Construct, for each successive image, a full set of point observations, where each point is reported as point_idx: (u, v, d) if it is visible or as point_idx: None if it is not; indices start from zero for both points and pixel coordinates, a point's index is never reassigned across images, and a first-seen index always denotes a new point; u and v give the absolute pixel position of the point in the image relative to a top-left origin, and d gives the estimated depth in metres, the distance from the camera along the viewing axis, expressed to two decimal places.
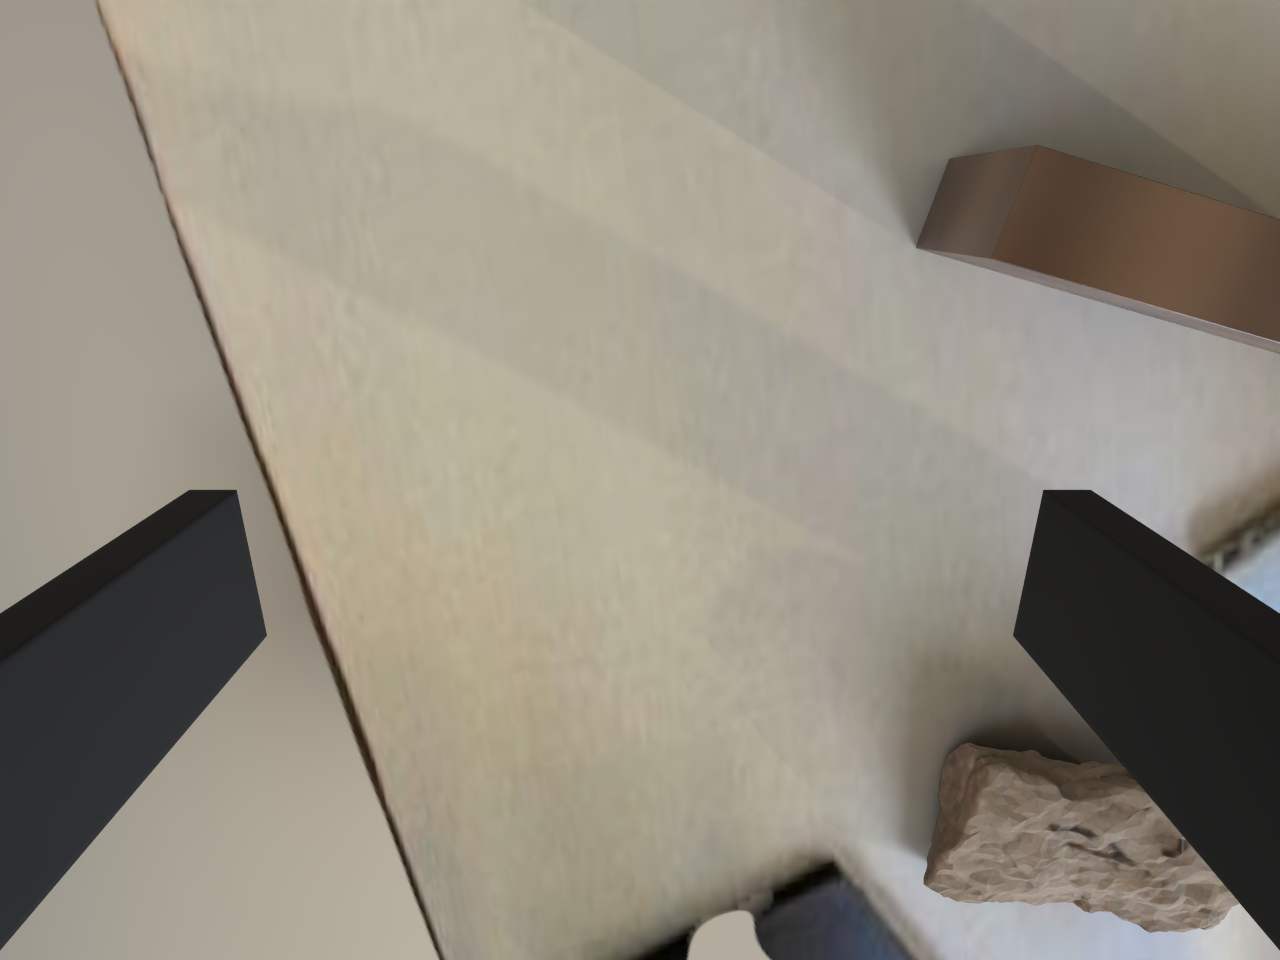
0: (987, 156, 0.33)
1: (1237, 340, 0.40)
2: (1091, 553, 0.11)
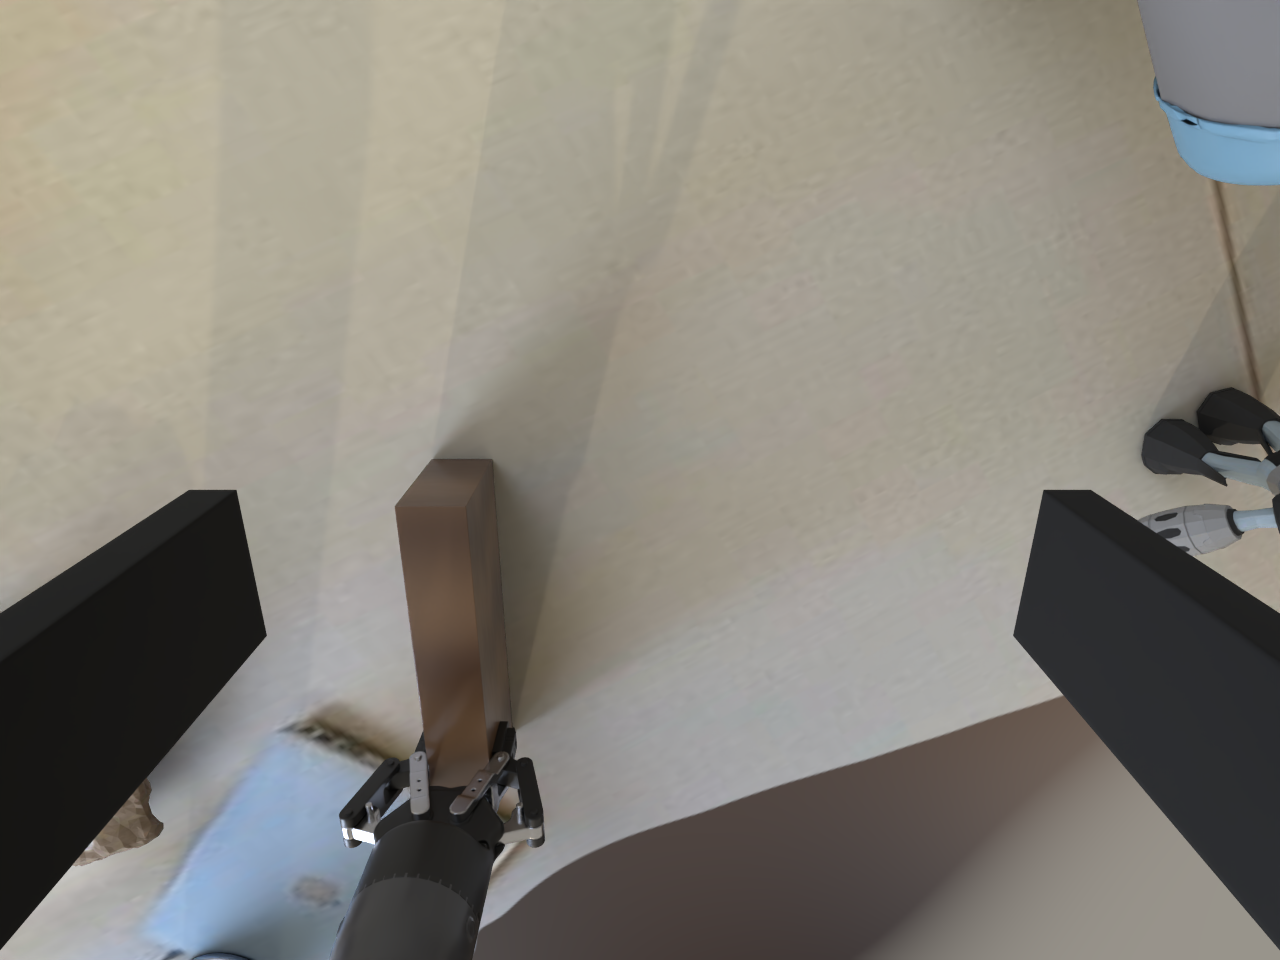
0: (477, 481, 0.51)
1: None
2: (1091, 553, 0.11)
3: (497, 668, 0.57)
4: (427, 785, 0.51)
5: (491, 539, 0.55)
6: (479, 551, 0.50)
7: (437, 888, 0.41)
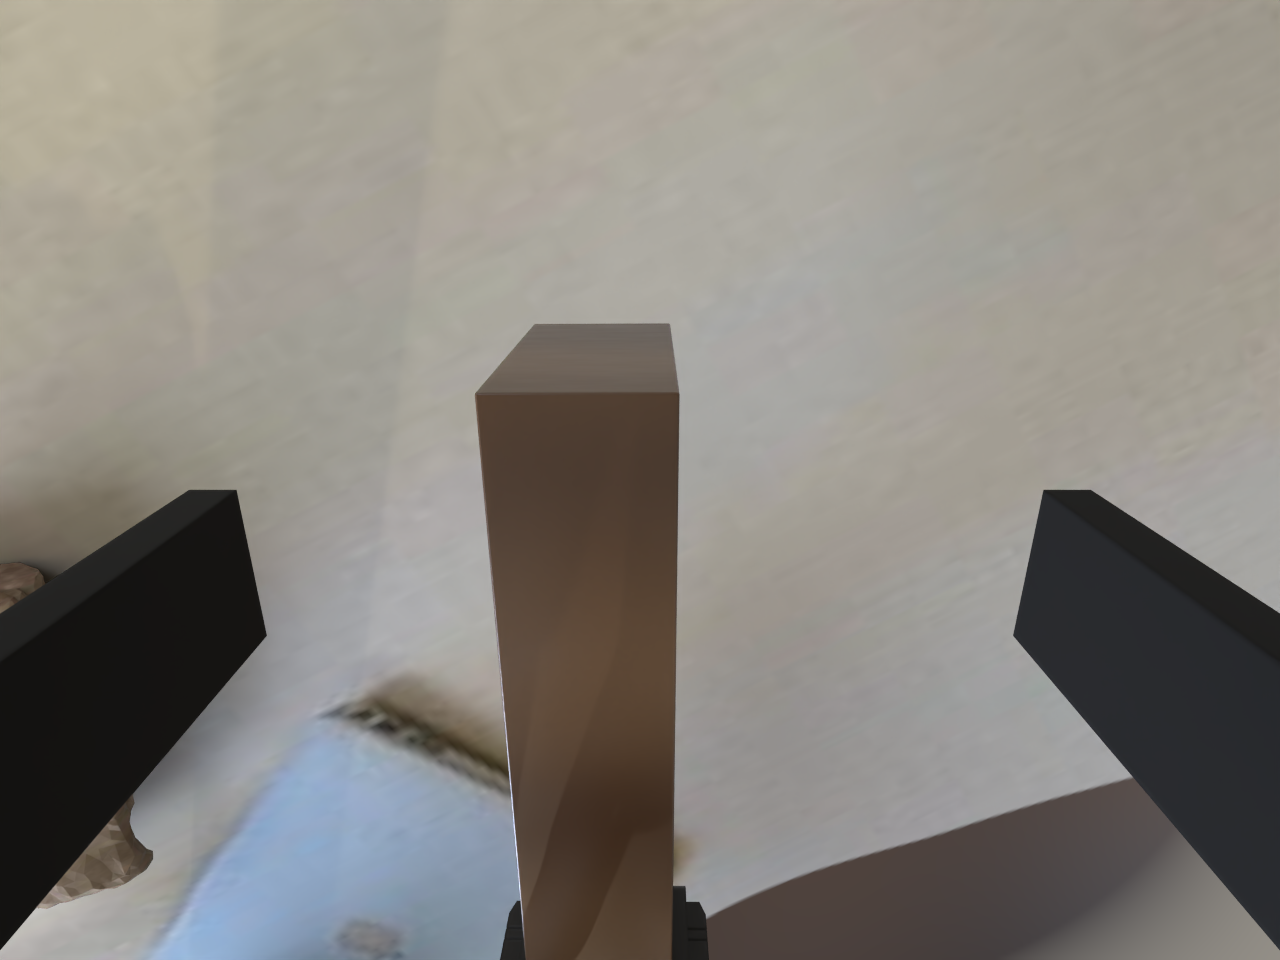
0: (667, 351, 0.20)
1: None
2: (1092, 553, 0.11)
3: None
4: None
5: None
6: None
7: None
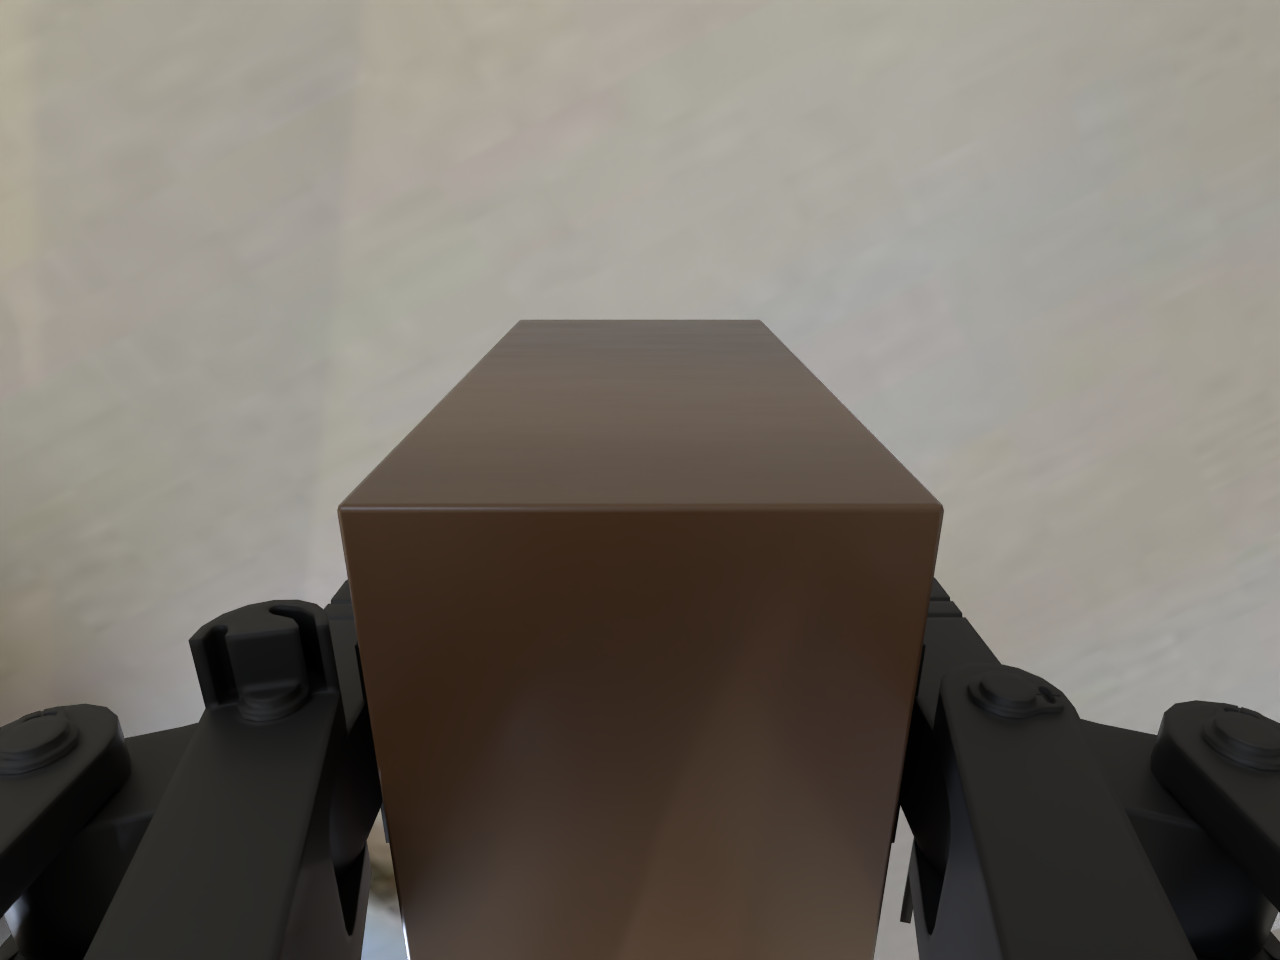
0: (801, 374, 0.09)
1: None
2: None
3: None
4: None
5: None
6: None
7: None
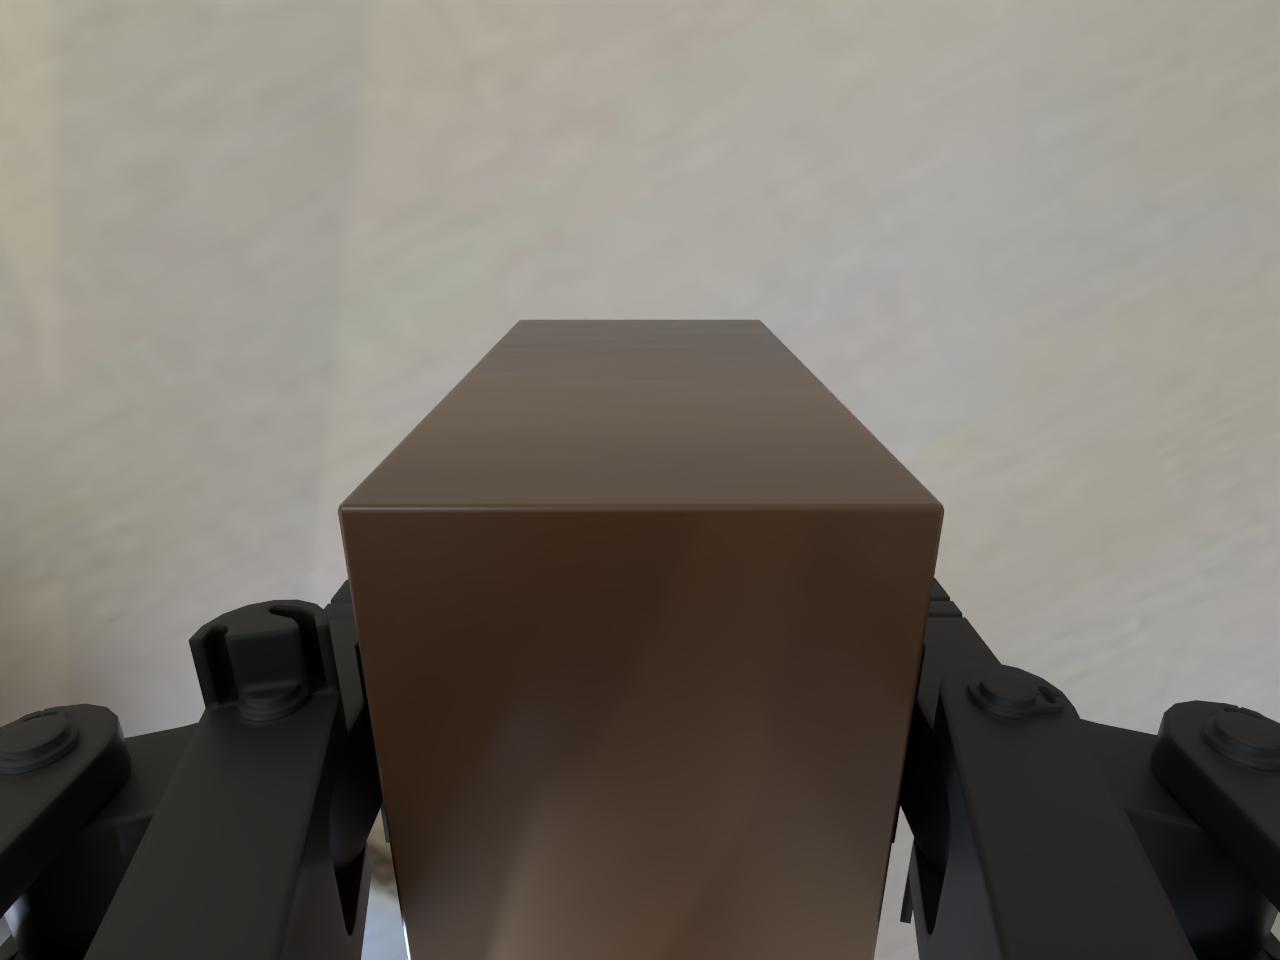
0: (802, 374, 0.09)
1: None
2: None
3: None
4: None
5: None
6: None
7: None
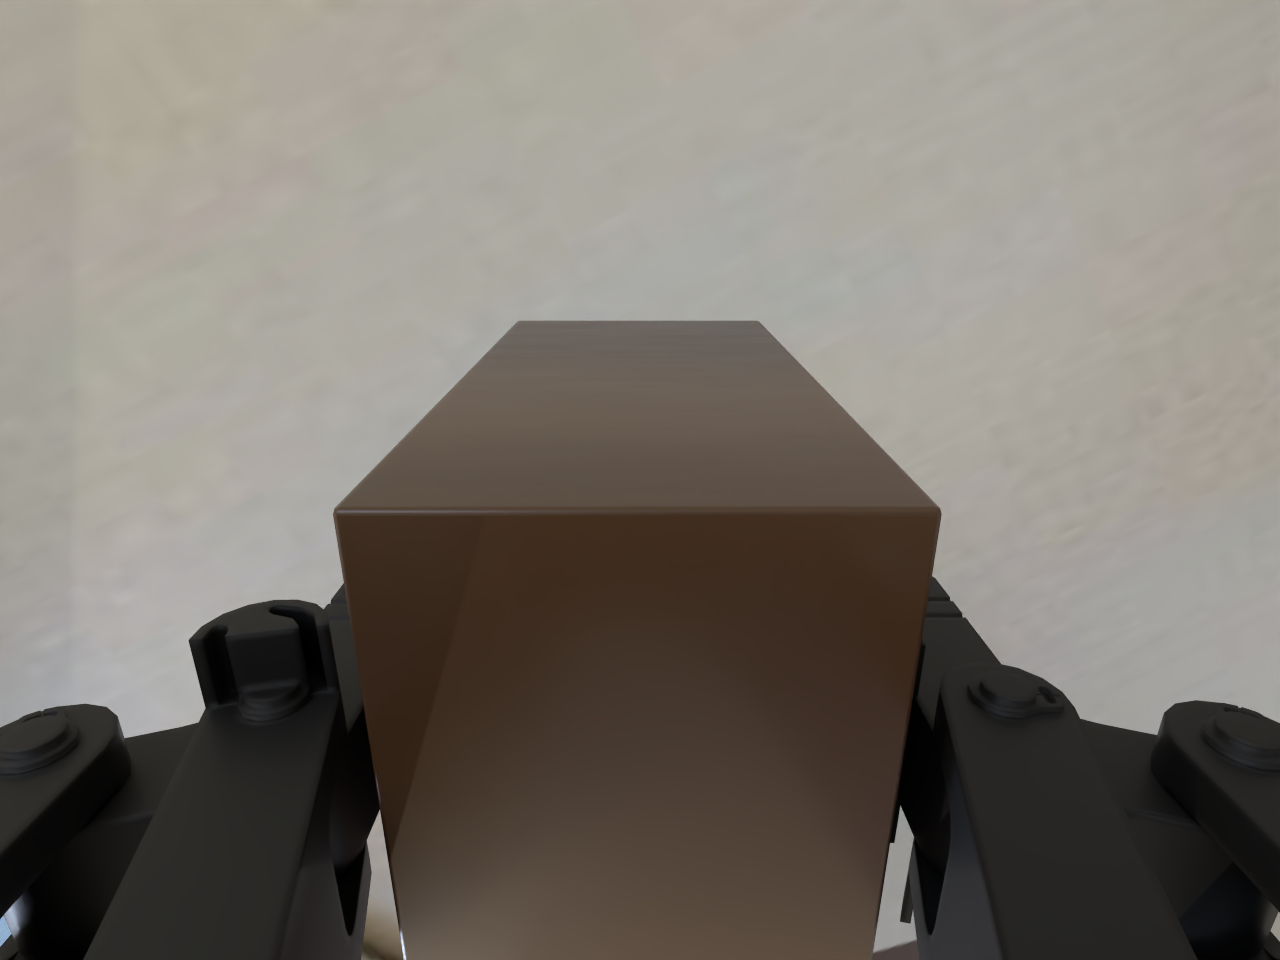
0: (800, 376, 0.09)
1: None
2: None
3: None
4: None
5: None
6: None
7: None
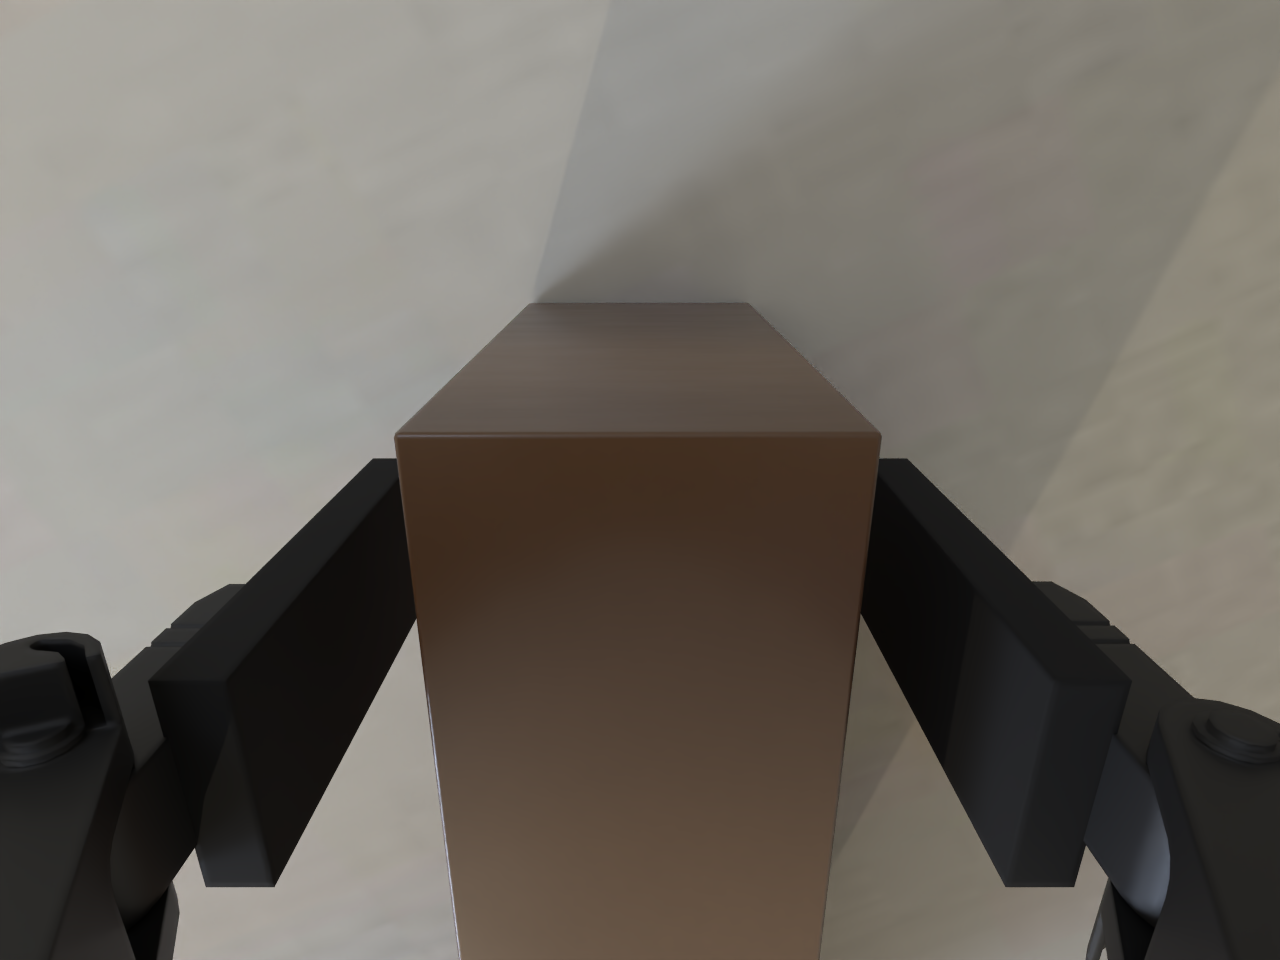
0: (780, 344, 0.11)
1: None
2: (888, 510, 0.12)
3: None
4: None
5: None
6: None
7: None
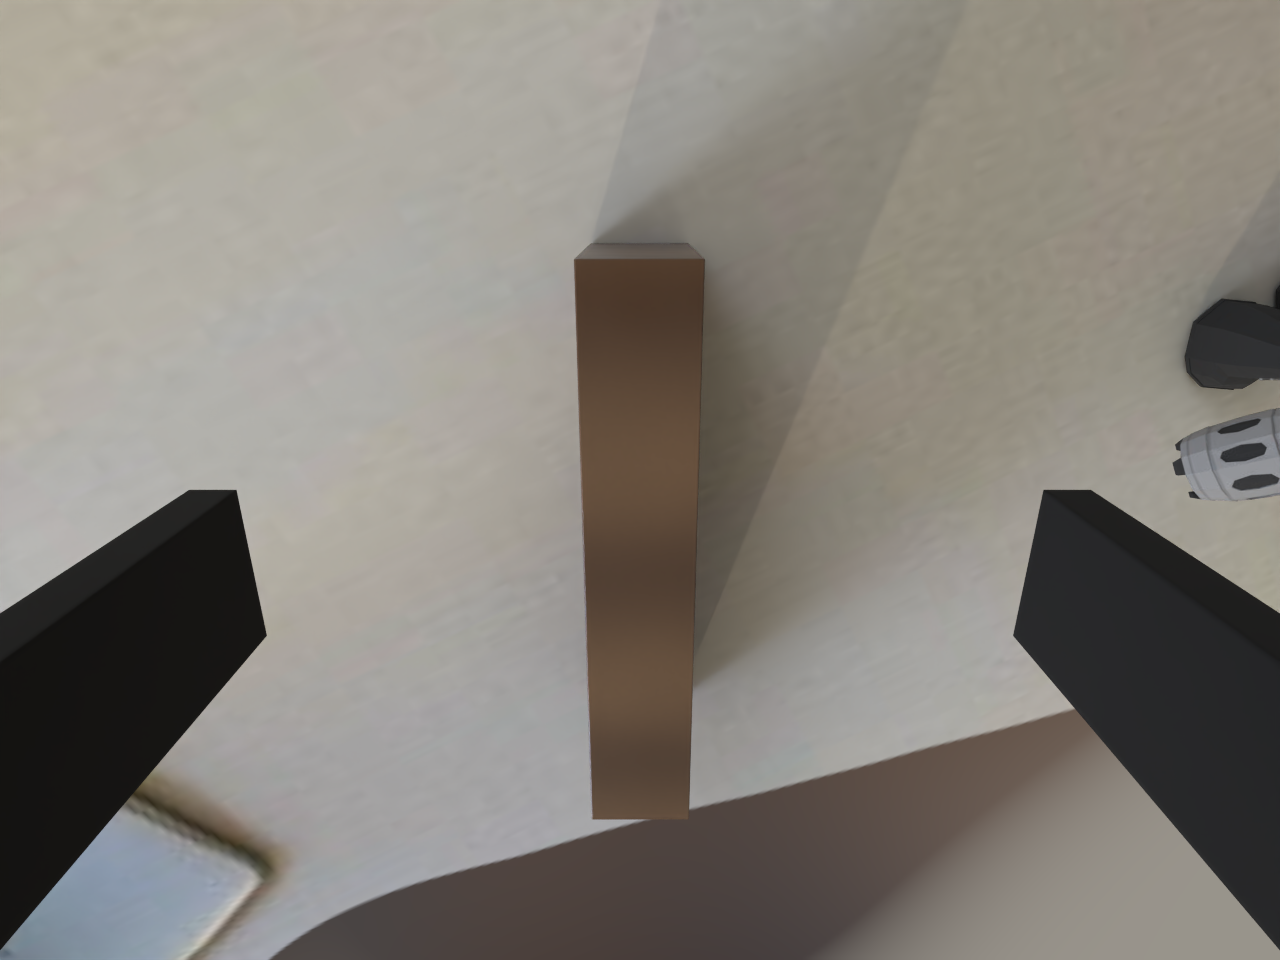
0: (691, 250, 0.29)
1: None
2: (1091, 553, 0.11)
3: None
4: None
5: None
6: None
7: None
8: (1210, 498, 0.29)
